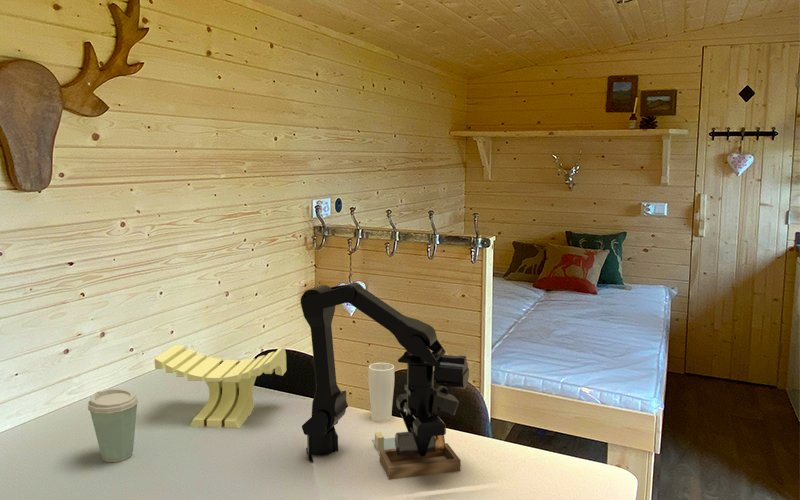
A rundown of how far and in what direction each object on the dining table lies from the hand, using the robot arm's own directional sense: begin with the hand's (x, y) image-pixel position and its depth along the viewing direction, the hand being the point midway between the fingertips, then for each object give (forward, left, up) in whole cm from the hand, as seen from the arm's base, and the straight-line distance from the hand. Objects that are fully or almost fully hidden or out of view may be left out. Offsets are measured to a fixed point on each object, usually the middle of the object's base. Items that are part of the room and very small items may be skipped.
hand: (419, 450), depth 145 cm
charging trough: (0, 0, -4) cm, 4 cm away
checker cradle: (0, +11, -4) cm, 12 cm away
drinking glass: (-2, +29, -5) cm, 29 cm away
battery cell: (0, 0, 0) cm, 1 cm away
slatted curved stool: (-42, +43, -5) cm, 60 cm away
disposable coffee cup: (-66, +23, -5) cm, 70 cm away
